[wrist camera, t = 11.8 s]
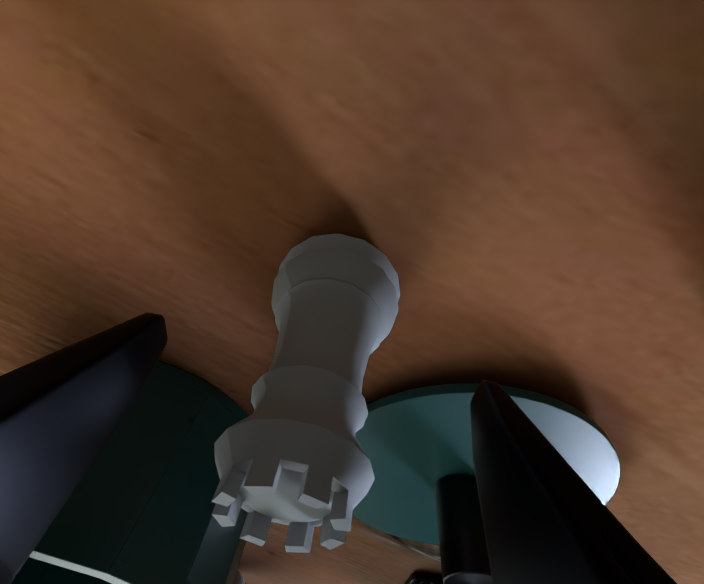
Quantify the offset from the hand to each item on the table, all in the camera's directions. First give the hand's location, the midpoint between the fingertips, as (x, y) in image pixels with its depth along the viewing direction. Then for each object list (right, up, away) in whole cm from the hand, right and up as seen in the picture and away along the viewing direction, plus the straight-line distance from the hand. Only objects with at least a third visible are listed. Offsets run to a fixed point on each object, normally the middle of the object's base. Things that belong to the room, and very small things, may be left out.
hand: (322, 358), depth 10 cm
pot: (-11, -7, +10) cm, 16 cm away
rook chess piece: (0, +2, +3) cm, 4 cm away
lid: (+6, -8, +8) cm, 13 cm away
